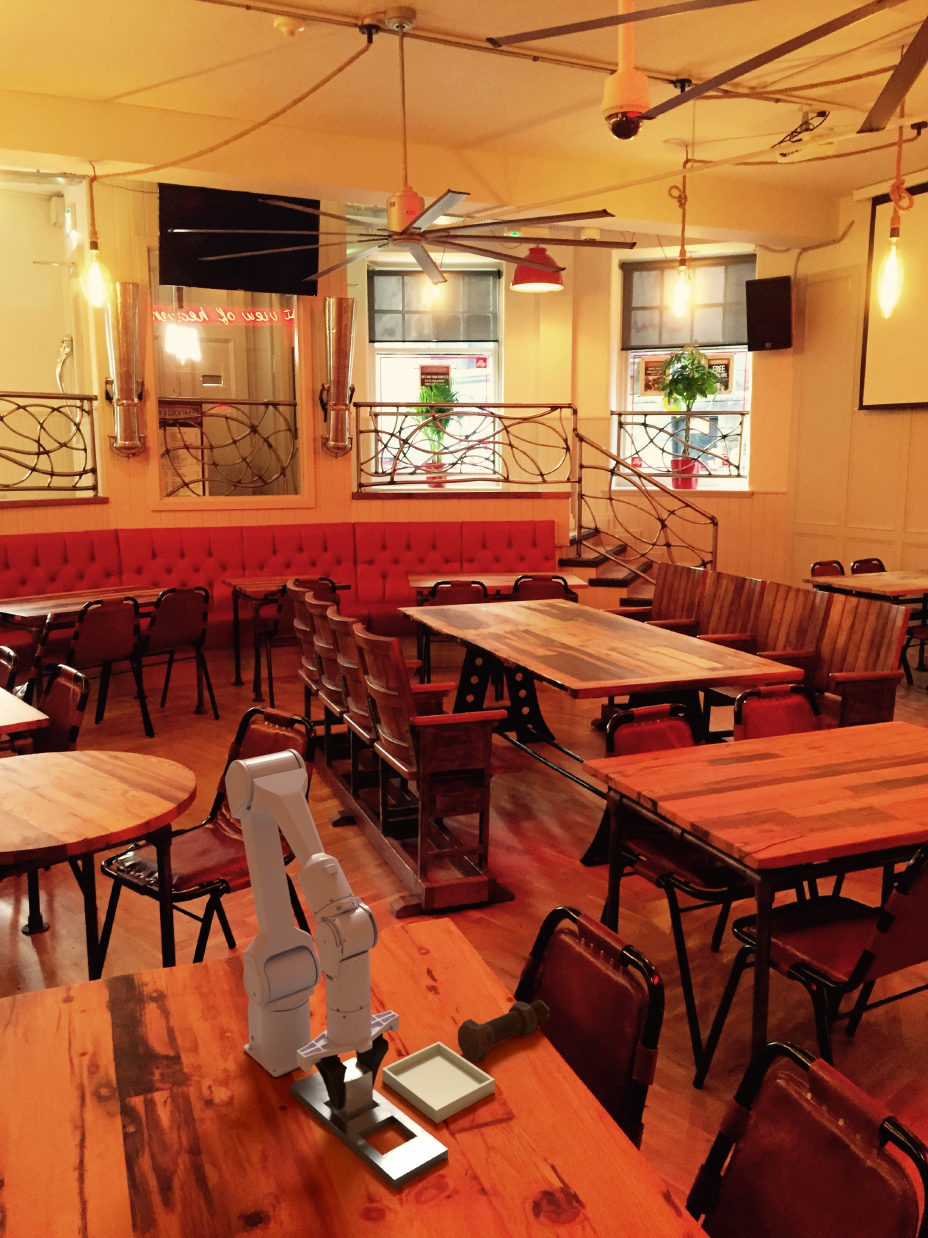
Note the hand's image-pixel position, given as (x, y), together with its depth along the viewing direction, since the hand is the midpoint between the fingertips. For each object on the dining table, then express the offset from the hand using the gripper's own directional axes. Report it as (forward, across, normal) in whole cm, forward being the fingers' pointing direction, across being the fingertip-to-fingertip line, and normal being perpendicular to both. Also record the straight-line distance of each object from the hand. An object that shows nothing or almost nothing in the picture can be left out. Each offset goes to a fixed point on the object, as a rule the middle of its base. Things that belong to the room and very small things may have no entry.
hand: (351, 1098), depth 127 cm
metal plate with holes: (+2, 0, -3) cm, 4 cm away
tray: (+2, +12, -3) cm, 13 cm away
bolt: (+2, +27, -1) cm, 27 cm away
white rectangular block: (+2, 0, 0) cm, 2 cm away
